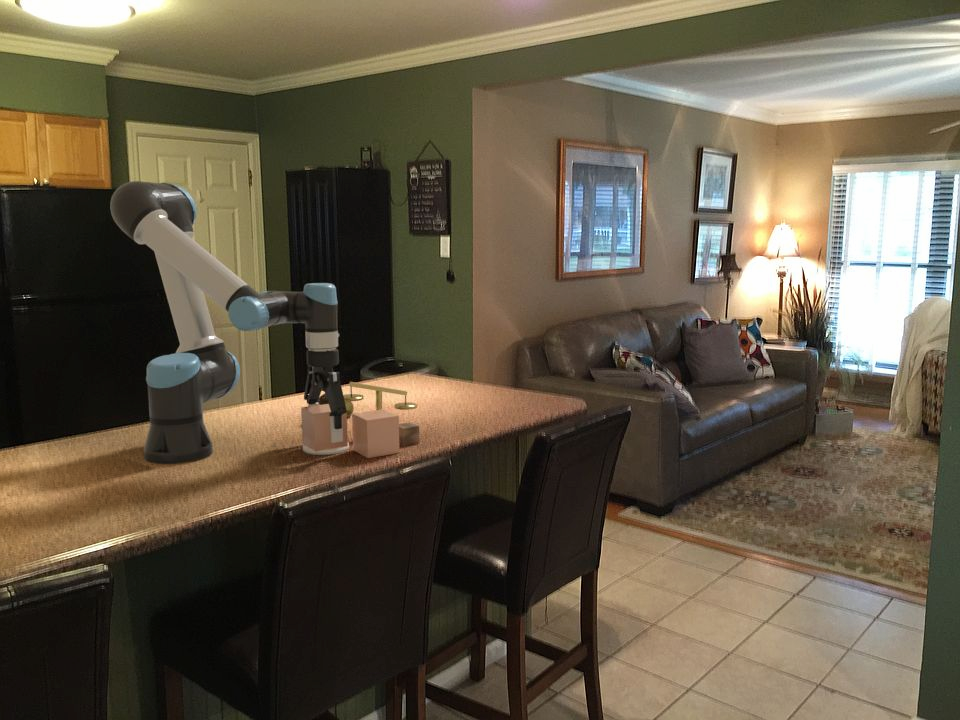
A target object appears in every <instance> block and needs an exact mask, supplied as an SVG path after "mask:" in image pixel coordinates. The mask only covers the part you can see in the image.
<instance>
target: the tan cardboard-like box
mask: <svg viewBox="0 0 960 720" xmlns="http://www.w3.org/2000/svg"><path fill="white" fill-rule="evenodd" d="M351 416H352V417H351V418H352V419H351V422H352V426H351V427H352V450H353V451H354V452H356V453H357V454H360V455H361V456H363V457H365V458H367V459H370V458H376V457H378V458H379V457H382V456H388V455H394V454H400V444H399V424H400V417H399V414H397V413H393V412H391V411H387V410H386V409H383V408H382V410H376V409H375V410H370V411H369V410H367V411H363V412H353V413H352V415H351Z"/></svg>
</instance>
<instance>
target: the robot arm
mask: <svg viewBox="0 0 960 720" xmlns="http://www.w3.org/2000/svg"><path fill="white" fill-rule="evenodd" d="M109 203H110V204H109V205H110V206H109V207H110V209H109V210H110V213H111V217H112V219H113V221H114V223H115V224H116V225H117V227H119V229H120V230H121V231H122V232H123V233H124V234H125V235H127V236H128V237H129V238H130V239H132V240H133V241H134V242H135V243H137V244H138V245H146V246H147V247H148V248H149V249H151V250H152V251H153V252H154V255H155V260H156V263H157V266H158V269H159V274H160V276H161V280H162V284H163V288H164V292H165V295H166V299H167V303H168V305H169V309H170V313H171V316H172V321H173V325H174V328H175V330H176V334H177V338H178V342H179V346H178V347H177V349H176V351H175V353H171V354H163V355H161V356H158V357H155V358H153V359H152V360H150V361H149V362H148V363H147V366H146V376H145V381H146V387H147V400H148V413H149V429H148V432H147V435H146V440H145V443H144V446H143V456H144V457H143V458H144V460H145V461H146V462H148V463H152V464H162V465H165V464H166V465H171V464H173V465H174V464H184V463H190V462H191V463H192V462H195V461H196V462H197V461H199V460H203V459H206V458H207V457H209V456H211V455H212V454H213V451H214V450H213V448H214V447H213V442H212V439H211V436H210V435H209V432H208V430H207V427H206V425H205V423H204V417H203V415H204V414H203V404H204V403H207V402H210V401H213V400H215V399H216V400H217V399H220V398H223V397H224V396H226V395H227V394H229V393H231V392H233V390H234V389H235V388H236V386H237V384H238V383H239V380H240V377H241V376H240V375H241V368H240V364H239V360H238V359H237V358H236V356H235V355H234V354H232V353H231V352H230V351H229V350H227V349H226V345H225V342H224V341H225V340H223V339H221V338H219V337H217V336H216V331H215V329H214V326H213V322H212V318H211V315H210V311H209V308H208V303H207V300H206V296H205V294H206V295H207V296H208V297H209V298H211V299H212V300H213V301H215V302H216V303H217V304H218V305H219V306H220V307H222V308H223V309H224V310H226V311H227V312H228V318H229V320H230V322H231V324H232V327H235V329H236V330H239V331H242V332H253V331H259V330H261V329H264V328H267V327H273V326H277V325H281V324H304V326H305V347H306V348H307V350H306V352H305V353H306V364H307V375H306V380H305V381H306V382H305V388H304V394H303V400H304V401H306V404H307V407H309V406H316V405H320V404H319V403H318V402H319V401H320V400H319V397H320V396H321V395H322V392H323V393H324V394H326V397H327V401H328V404H329V407H330V410H331V413H330V414H329V416H330V428H331V443H335V442H341V441H343V426H342V415H343V414H344V413H347V410H346V405H345V401H344V396H343V395H344V392H343V388H342V384H341V374H340V372H339V371H336V372H335V371H334V366H337V365H339V362H340V359H339V358H340V355H339V354H340V353H339V352H340V351H339V349H338V347H339V337H340V333H339V330H338V329H339V328H338V304H339V303H338V302H339V301H338V298H337V287H336V286H335V284H334V283H329V282H314V283H313V282H312V283H306V284H304V286H303V291H284V290H282V291H280V290H279V291H277V290H267V291H261V292H257V291H256V289H254V288H253V287H251V285H249V284H248V283H247V282H245V281H244V280H243V279H242V278H241V277H239V276H238V275H237V274H235V272H233V271H232V270H230V268H228V266H226V265H224V264H223V263H222V262H221V261H220V260H219V259H217V258H216V257H215V256H214V255H213V254H211V253H210V252H209V251H207V250H206V249H205V248H204V247H202V245H200V244H199V243H197V242H196V241H195V240H194V239H193V237H194V235H195V231H194V227H193V226H194V224H195V222H196V221H195V219H196V218H197V214H198V213H197V209H198V208H197V205H196V202H195V200H194V199H193V197H192V195H191V194H190V192H188V191H187V190H186V189H184V188H183V187H181V186H179V185H176V184H173V183H170V182H169V183H168V182H149V181H140V180H134V181H128V182H126V183H123V184H121V185H120V186H118V187H117V188H116V190H115V191H114V192H113V194H112V195H111V199H110V201H109Z"/></svg>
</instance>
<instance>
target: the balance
mask: <svg viewBox="0 0 960 720" xmlns="http://www.w3.org/2000/svg"><path fill="white" fill-rule="evenodd" d="M348 384H349V385H348V386H349V387H350V393H349V394H343V396H344V401H351V402H359V401H362V400H364V395H363V394H357V393H353V391H352V389H353V388H359V389H364V390H365V389H366V390H370V391H374V392H375V407H376V408H375V410H382V409H383V393H389V394H395V395H401V396H404V402H398V403H395V404H394V405H393V406H394V409H395V410H402V411H407V410H409V411H410V410H415V409H417V408H418V403H415V402H409V401H408V402H407V396H408V391H406V390H401V389H397V388H396V389H395V388H389V387H384V386H379V385H378V386H377V385H371V384H365V383H360V382H354V381H349V383H348Z"/></svg>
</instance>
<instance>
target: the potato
mask: <svg viewBox="0 0 960 720" xmlns="http://www.w3.org/2000/svg"><path fill="white" fill-rule="evenodd" d="M319 400H320V401H319V402H318V403H319V404H320V405H324V404H328V401H327V397H326V394H325V393H323V394H321V395H320V397H319ZM345 405H346V409H347V418H349V417H350V416H352V414H353V413H354V404H353V401H345Z"/></svg>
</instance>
